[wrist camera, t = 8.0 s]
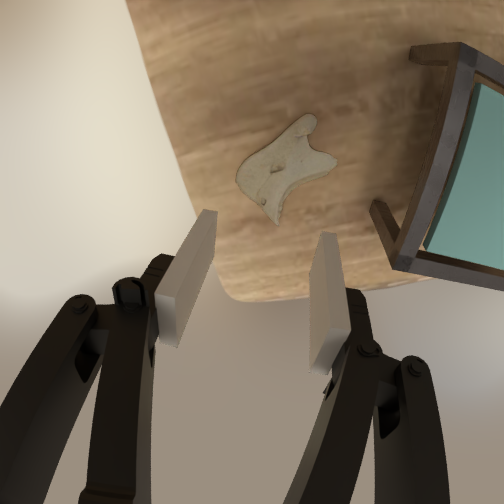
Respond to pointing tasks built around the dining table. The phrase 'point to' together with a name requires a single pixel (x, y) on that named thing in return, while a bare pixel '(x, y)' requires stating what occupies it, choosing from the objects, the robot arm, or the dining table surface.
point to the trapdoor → (474, 188)
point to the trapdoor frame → (439, 171)
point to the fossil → (283, 167)
